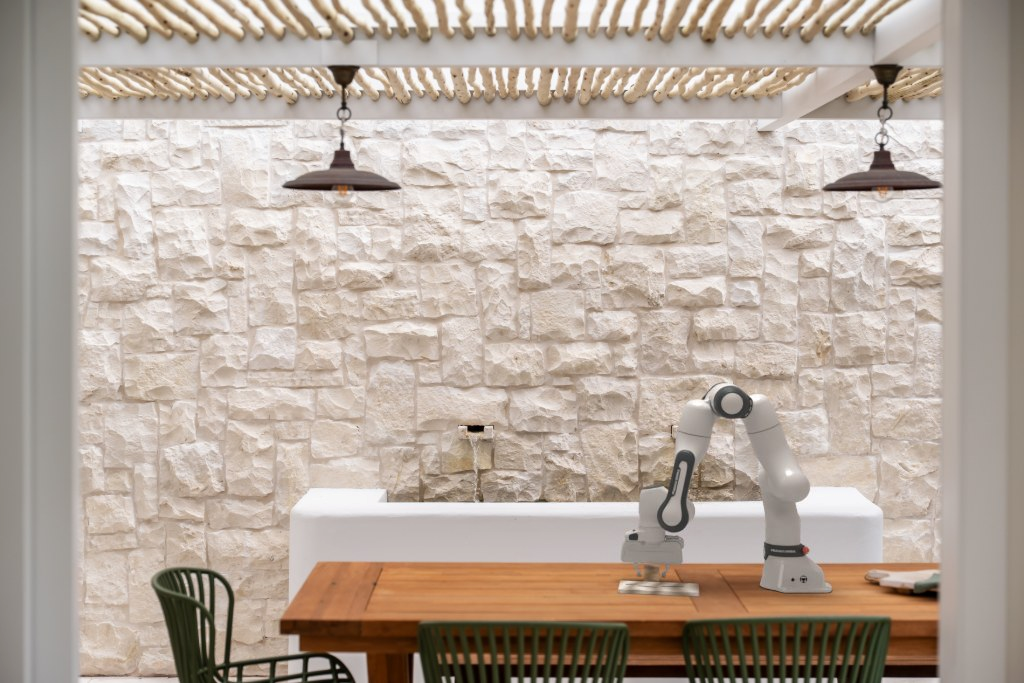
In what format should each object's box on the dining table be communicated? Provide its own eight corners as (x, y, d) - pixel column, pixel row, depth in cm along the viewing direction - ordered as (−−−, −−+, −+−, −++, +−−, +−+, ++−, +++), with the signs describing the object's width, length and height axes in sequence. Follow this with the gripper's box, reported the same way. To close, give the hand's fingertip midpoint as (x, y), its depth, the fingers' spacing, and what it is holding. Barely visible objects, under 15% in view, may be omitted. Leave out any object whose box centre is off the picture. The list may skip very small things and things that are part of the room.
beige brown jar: (659, 580, 368) (659, 565, 368) (659, 586, 359) (659, 570, 359) (643, 579, 368) (643, 564, 368) (643, 585, 359) (643, 570, 359)
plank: (698, 587, 356) (698, 583, 356) (699, 596, 344) (699, 592, 344) (620, 584, 360) (620, 580, 360) (618, 593, 347) (618, 588, 347)
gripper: (683, 534, 365) (683, 576, 365) (621, 531, 368) (621, 573, 368) (684, 537, 359) (683, 580, 359) (620, 535, 362) (620, 577, 362)
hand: (651, 576), depth 363 cm, fingers open, 7 cm apart
